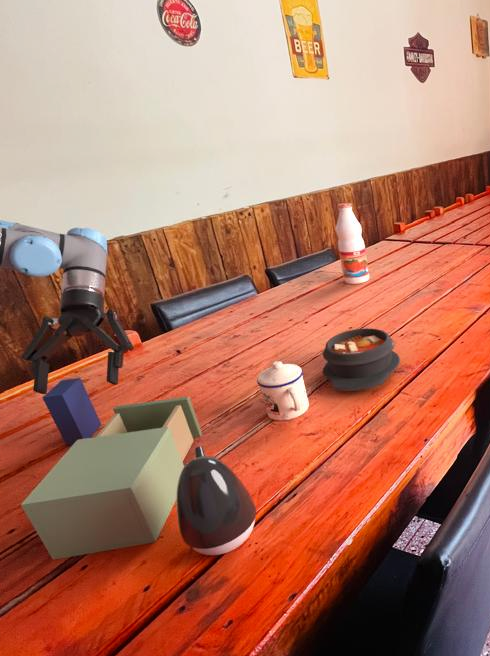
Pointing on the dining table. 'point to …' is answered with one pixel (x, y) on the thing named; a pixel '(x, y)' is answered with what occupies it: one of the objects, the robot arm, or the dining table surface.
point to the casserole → (359, 359)
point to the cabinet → (107, 493)
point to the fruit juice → (351, 246)
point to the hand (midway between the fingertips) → (76, 387)
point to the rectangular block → (72, 410)
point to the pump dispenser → (213, 506)
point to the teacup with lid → (283, 391)
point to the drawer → (157, 420)
